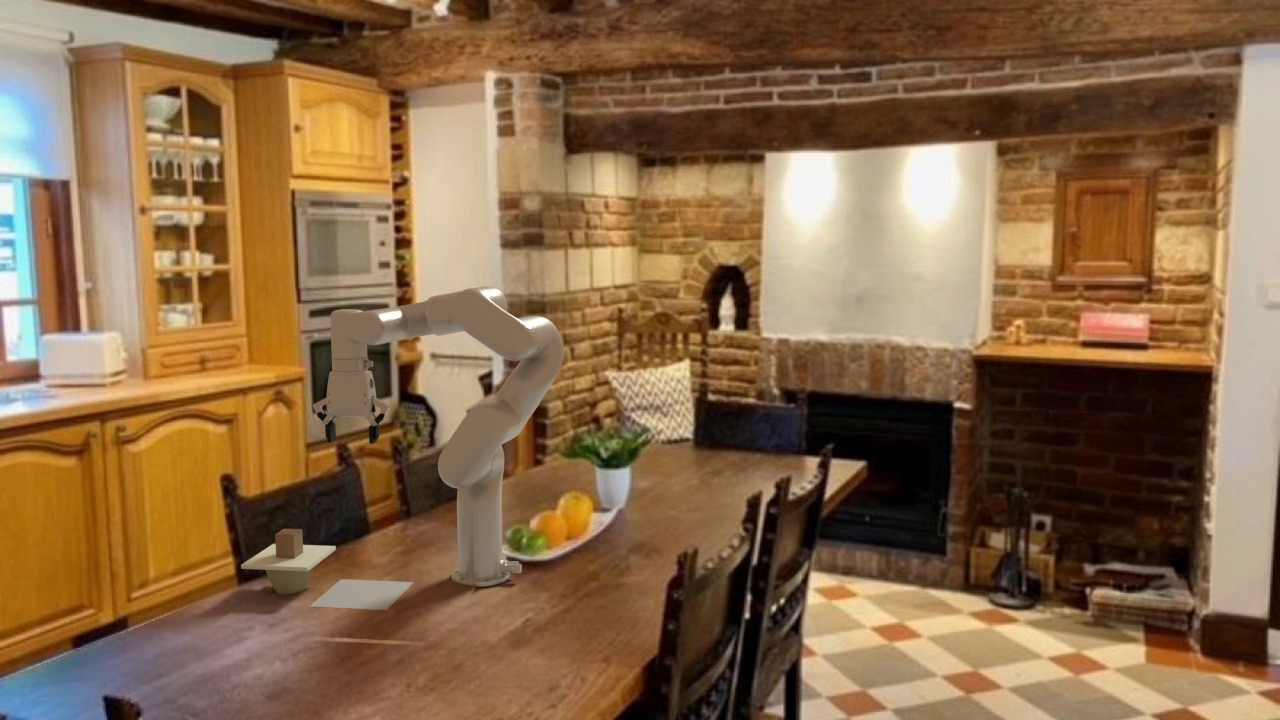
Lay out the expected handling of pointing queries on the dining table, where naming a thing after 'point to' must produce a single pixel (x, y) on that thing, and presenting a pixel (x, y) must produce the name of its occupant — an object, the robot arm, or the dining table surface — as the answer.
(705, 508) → the dining table surface
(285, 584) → the flower pot
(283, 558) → the lid
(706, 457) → the dining table surface
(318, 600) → the mat
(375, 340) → the robot arm
